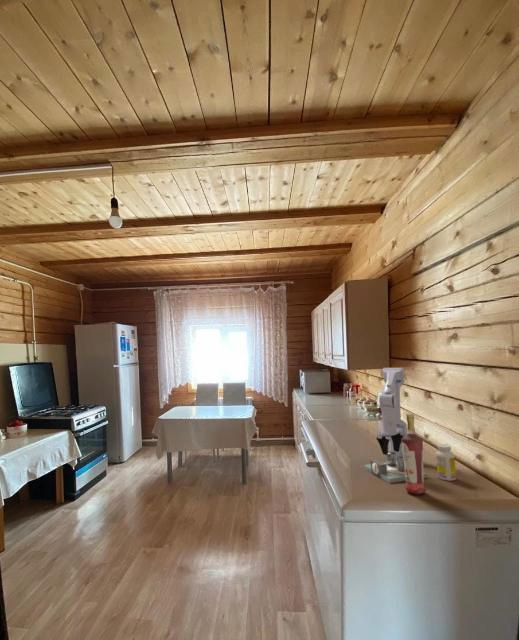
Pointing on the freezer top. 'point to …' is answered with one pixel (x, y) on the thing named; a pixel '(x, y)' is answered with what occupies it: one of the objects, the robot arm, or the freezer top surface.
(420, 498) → the freezer top surface
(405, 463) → the liquor
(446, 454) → the supplement bottle
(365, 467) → the scale
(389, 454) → the cylinder
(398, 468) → the cylinder
